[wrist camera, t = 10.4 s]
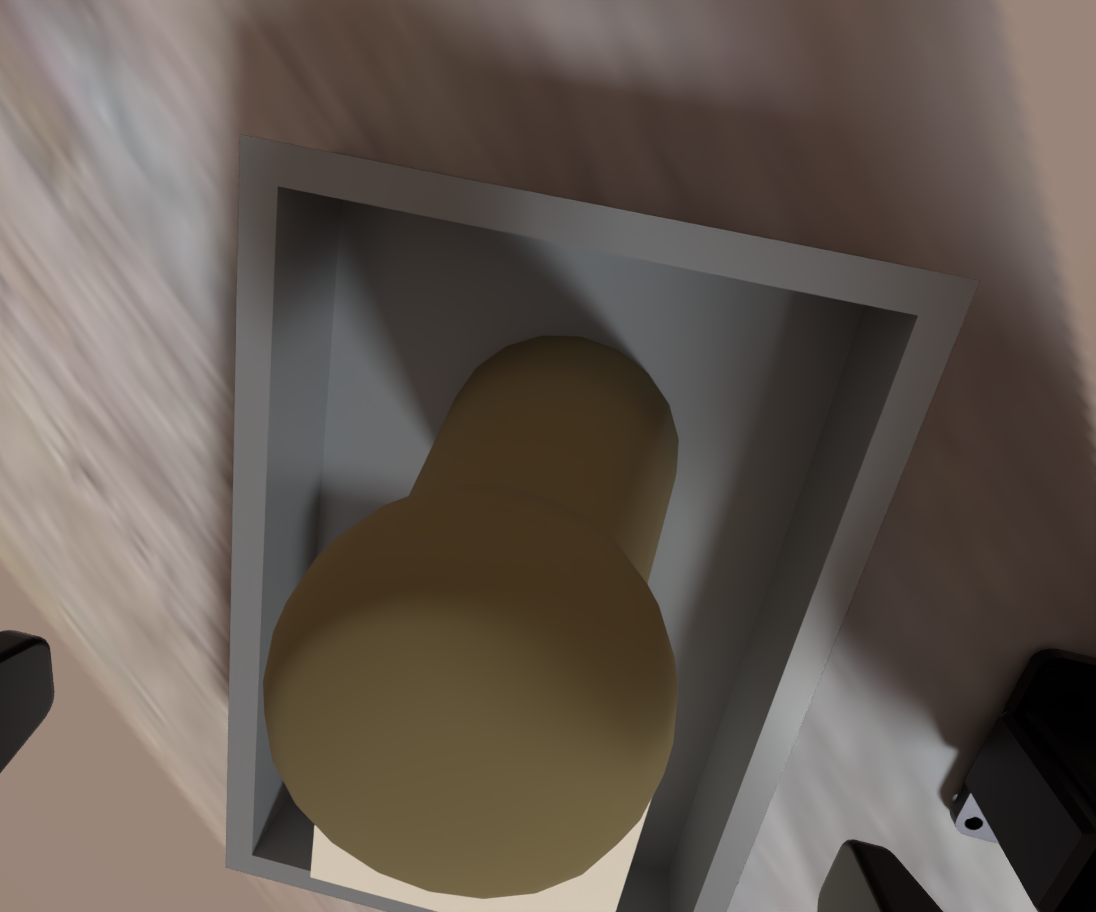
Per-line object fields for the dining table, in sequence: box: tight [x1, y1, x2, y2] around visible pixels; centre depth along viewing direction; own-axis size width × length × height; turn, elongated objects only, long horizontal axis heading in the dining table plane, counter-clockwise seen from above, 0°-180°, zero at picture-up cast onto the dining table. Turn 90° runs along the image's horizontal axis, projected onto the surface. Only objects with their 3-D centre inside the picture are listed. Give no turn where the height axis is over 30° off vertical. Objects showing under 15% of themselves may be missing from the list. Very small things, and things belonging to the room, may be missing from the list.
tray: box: [226, 134, 980, 912], centre depth 18 cm, size 14×20×4 cm
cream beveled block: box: [310, 798, 652, 912], centre depth 19 cm, size 8×7×4 cm
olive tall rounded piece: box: [263, 335, 679, 899], centre depth 12 cm, size 6×6×11 cm
